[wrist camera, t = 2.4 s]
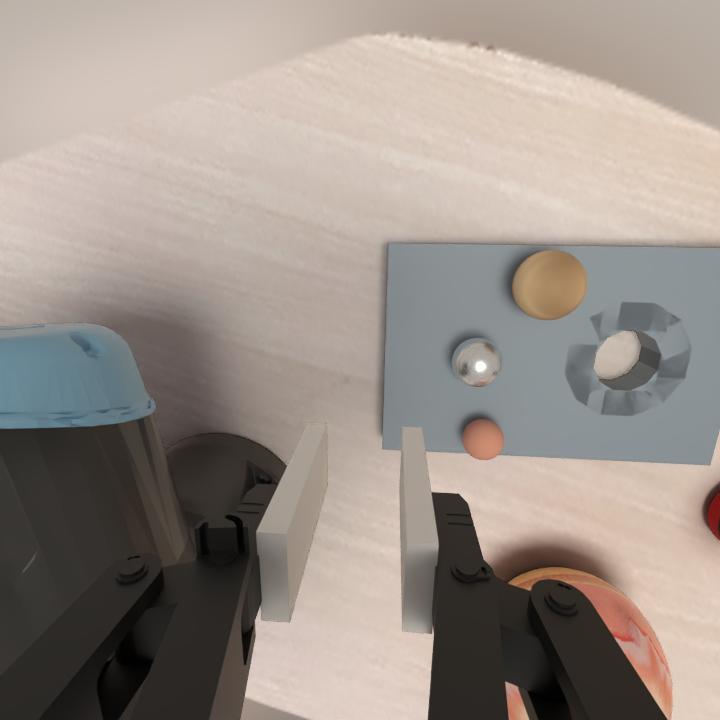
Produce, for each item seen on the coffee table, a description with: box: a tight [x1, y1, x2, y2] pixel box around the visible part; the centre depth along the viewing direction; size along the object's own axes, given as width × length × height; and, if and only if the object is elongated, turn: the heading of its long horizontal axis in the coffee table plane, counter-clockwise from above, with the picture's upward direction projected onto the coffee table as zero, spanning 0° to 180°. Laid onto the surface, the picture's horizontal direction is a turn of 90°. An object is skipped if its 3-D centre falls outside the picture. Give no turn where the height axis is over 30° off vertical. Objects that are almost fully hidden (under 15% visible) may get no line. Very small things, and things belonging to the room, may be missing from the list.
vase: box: [505, 567, 673, 720], centre depth 32 cm, size 14×14×18 cm
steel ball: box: [452, 338, 503, 387], centre depth 30 cm, size 4×4×4 cm
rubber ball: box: [462, 419, 504, 460], centre depth 32 cm, size 3×3×3 cm
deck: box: [382, 243, 720, 465], centre depth 32 cm, size 25×16×2 cm, turn 89°
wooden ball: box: [512, 250, 588, 320], centre depth 28 cm, size 4×4×4 cm
